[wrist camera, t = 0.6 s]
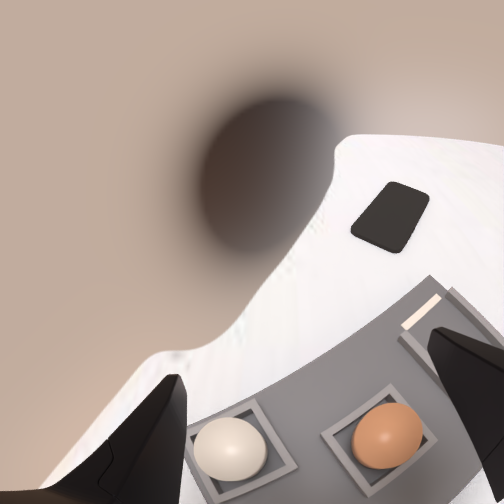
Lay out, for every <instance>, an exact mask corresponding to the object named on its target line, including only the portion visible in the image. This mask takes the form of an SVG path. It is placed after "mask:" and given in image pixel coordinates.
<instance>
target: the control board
mask: <svg viewBox="0 0 504 504" xmlns="http://www.w3.org/2000/svg"><path fill="white" fill-rule="evenodd" d="M440 326H442V327H445V328H448V329H450V330H453V331H455V332H458V333H461V334H463V335H466V336H469V337H471V338H474V339H476V340H479V341H482V342H484V343H487V344H490V345H492V346H495V347H497V348H500V349H503V350H504V337H503V336H502V335H501V334H500V333H499V332H498V331H497V330H496V329H495V328H494V327H493V326H492V325H491V324H490V323H489V322H488V321H487V320H486V319H485V318H484V317H483V316H482V315H481V314H480V313H479V312H478V311H477V310H476V309H475V308H474V307H473V306H472V305H471V304H470V303H469V302H468V301H467V300H466V299H465V298H464V297H463V296H462V295H460V294H459V293H458V292H457V291H456V290H455V289H454V288H453V287H451V288H450V289H449V290H448V291H447V290H446V289H445V288H444V287H443V286H442V285H441V284H440V283H438V282H437V281H436V280H435V279H434V278H433V277H432V276H431V275H429V276H428V277H426V278H425V279H424V280H423V281H422V282H421V283H419V284H418V285H417V286H416V287H415V288H413V289H412V290H411V291H410V292H409V293H407V294H406V295H405V296H404V297H402V298H401V299H400V300H399V301H397V302H396V303H395V304H393V305H392V306H391V307H390V308H388V309H387V310H386V311H384V312H383V313H382V314H380V315H379V316H378V317H376V318H375V319H374V320H372V321H371V322H370V323H368V324H367V325H366V326H364V327H363V328H361V329H360V330H359V331H357V332H356V333H354V334H353V335H351V336H350V337H348V338H347V339H346V340H344V341H343V342H341V343H340V344H338V345H337V346H335V347H334V348H332V349H331V350H329V351H327V352H326V353H324V354H323V355H321V356H320V357H318V358H317V359H315V360H313V361H312V362H310V363H308V364H307V365H305V366H304V367H302V368H300V369H299V370H297V371H295V372H294V373H292V374H290V375H288V376H287V377H285V378H283V379H281V380H280V381H278V382H276V383H274V384H273V385H271V386H269V387H267V388H265V389H263V390H262V391H260V392H258V393H256V394H254V395H252V396H250V397H248V398H246V399H244V400H242V401H240V402H238V403H236V404H234V405H232V406H230V407H228V408H226V409H224V410H222V411H220V412H218V413H216V414H213V415H211V416H209V417H207V418H205V419H202V420H200V421H198V422H196V423H193V424H191V425H189V426H187V436H186V445H185V453H184V458H185V461H186V463H187V465H188V467H189V469H190V471H191V473H192V475H193V477H194V479H195V481H196V483H197V485H198V487H199V489H200V491H201V493H202V495H203V496H204V498H205V500H206V502H207V504H448V503H449V502H450V501H451V500H452V499H454V498H455V497H456V496H457V495H458V494H459V493H460V492H461V491H462V490H463V488H464V487H465V486H466V485H467V484H468V483H469V482H470V481H471V480H472V479H473V478H474V477H475V476H476V474H477V473H478V472H479V471H480V470H481V469H482V463H481V462H480V459H479V457H478V455H477V452H476V450H475V448H474V446H473V444H472V441H471V439H470V437H469V435H468V433H467V431H466V429H465V427H464V425H463V423H462V421H461V419H460V417H459V415H458V413H457V411H456V409H455V407H454V405H453V403H452V401H451V400H450V398H449V396H448V394H447V392H446V390H445V388H444V387H443V385H442V383H441V381H440V378H439V376H438V374H437V372H436V369H435V367H434V365H433V362H432V360H431V358H430V356H429V354H428V351H427V345H428V341H429V337H430V333H431V331H432V329H434V328H437V327H440ZM386 403H400V404H404V405H406V406H408V407H410V408H411V409H413V410H414V411H415V412H416V413H417V415H418V416H419V418H420V420H421V423H422V427H423V436H422V440H421V443H420V446H419V448H418V450H417V451H416V453H415V454H414V455H413V456H412V457H411V458H410V459H409V460H408V461H406V462H405V463H403V464H401V465H399V466H396V467H392V468H386V469H371V468H368V467H365V466H364V465H362V464H361V463H359V462H358V461H357V459H356V458H355V456H354V454H353V452H352V448H351V438H352V434H353V432H354V429H355V428H356V426H357V425H358V423H359V422H360V421H361V420H362V419H363V418H364V416H365V415H366V414H367V413H368V412H370V411H371V410H372V409H374V408H375V407H377V406H380V405H382V404H386ZM225 417H232V418H238V419H241V420H244V421H246V422H248V423H249V424H251V425H252V426H253V427H254V428H255V429H256V430H257V431H258V432H259V433H260V434H261V435H262V436H263V438H264V439H265V441H266V444H267V449H268V455H267V460H266V462H265V465H264V466H263V468H262V469H261V470H260V471H259V472H258V473H257V474H256V475H254V476H253V477H251V478H248V479H246V480H242V481H222V480H218V479H215V478H212V477H211V476H209V475H207V474H206V473H205V472H204V471H203V470H202V469H201V468H200V467H199V465H198V464H197V462H196V459H195V456H194V442H195V439H196V437H197V434H198V433H199V431H200V430H201V429H202V428H203V427H204V426H205V425H207V424H208V423H209V422H211V421H213V420H216V419H219V418H225Z"/></svg>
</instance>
